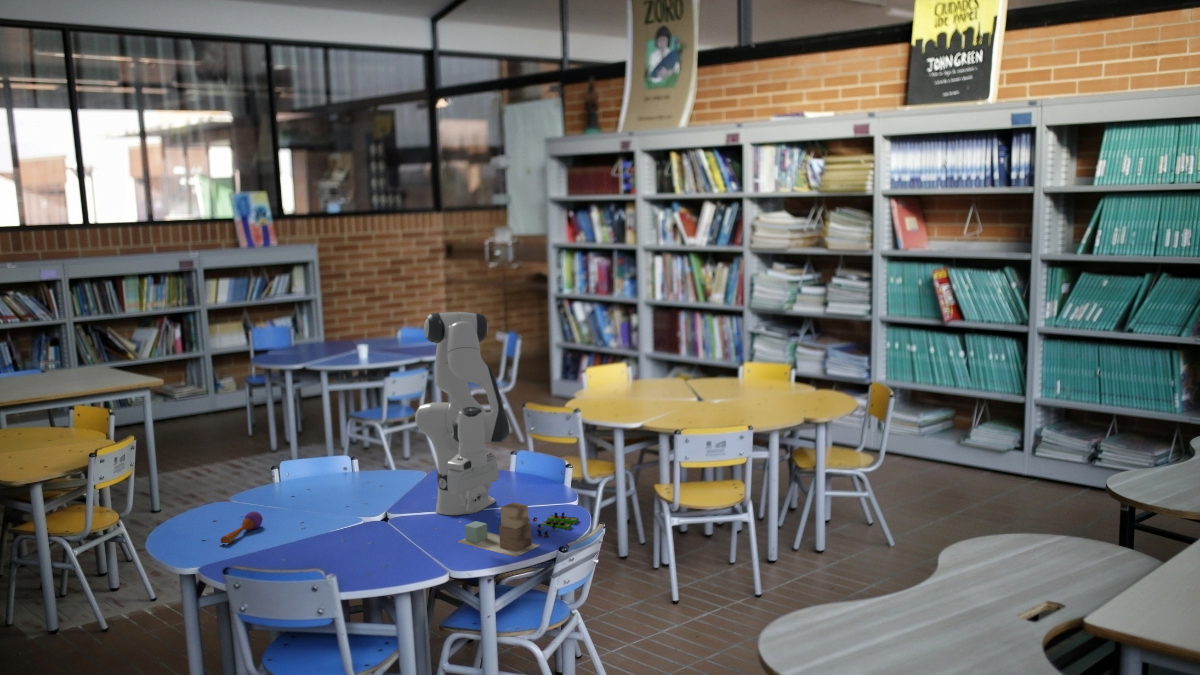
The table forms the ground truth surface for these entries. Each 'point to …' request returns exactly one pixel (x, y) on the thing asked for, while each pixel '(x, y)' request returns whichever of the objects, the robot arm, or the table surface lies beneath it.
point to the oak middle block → (514, 515)
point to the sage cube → (476, 532)
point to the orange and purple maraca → (244, 526)
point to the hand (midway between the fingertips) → (474, 501)
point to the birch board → (497, 545)
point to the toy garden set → (556, 523)
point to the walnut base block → (515, 537)
